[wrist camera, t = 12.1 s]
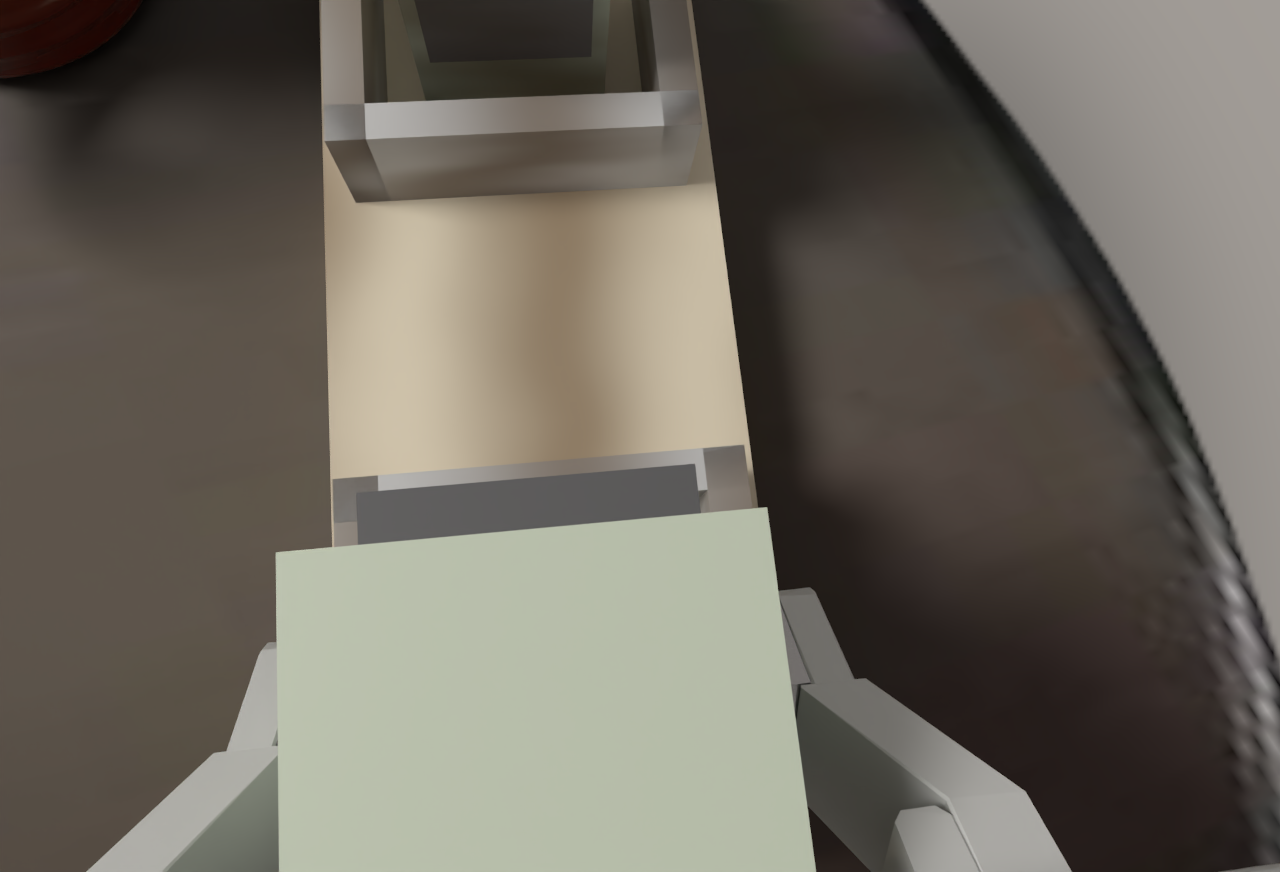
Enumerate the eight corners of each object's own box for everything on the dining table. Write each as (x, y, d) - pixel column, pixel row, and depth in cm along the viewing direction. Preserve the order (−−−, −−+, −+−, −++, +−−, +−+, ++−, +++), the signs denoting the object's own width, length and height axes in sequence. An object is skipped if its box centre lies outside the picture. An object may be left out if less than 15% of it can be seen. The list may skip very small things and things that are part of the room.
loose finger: (460, 779, 16) (280, 1032, 6) (448, 564, 17) (275, 477, 7) (671, 754, 16) (827, 952, 6) (650, 545, 17) (757, 437, 7)
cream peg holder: (366, 893, 18) (-25, 1407, 6) (338, -35, 23) (90, -738, 11) (780, 838, 19) (1128, 1195, 7) (669, -44, 24) (765, -701, 12)
